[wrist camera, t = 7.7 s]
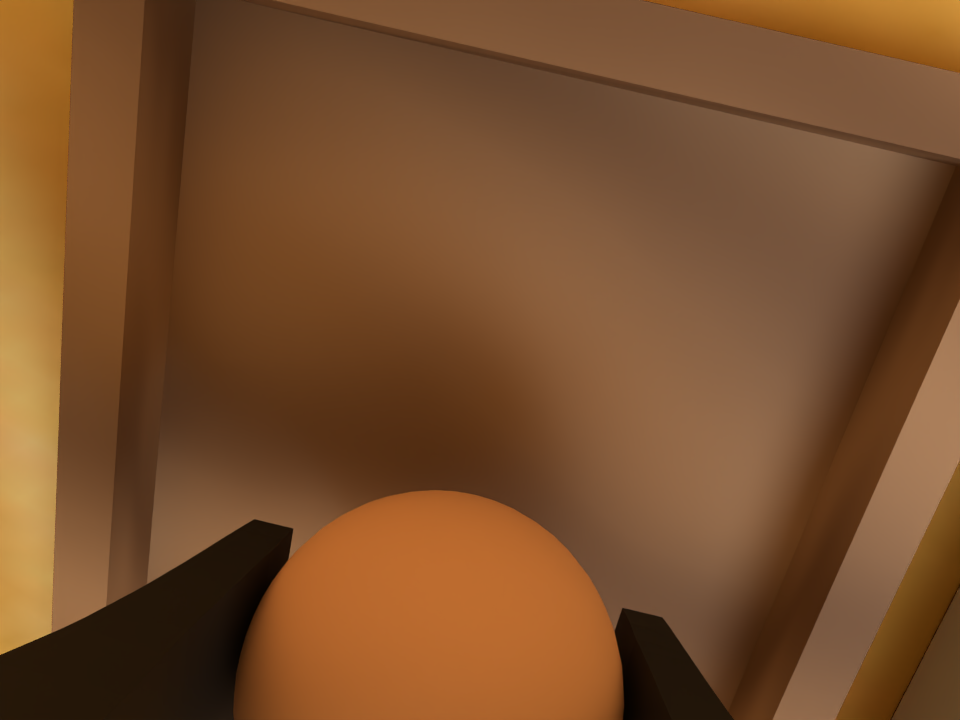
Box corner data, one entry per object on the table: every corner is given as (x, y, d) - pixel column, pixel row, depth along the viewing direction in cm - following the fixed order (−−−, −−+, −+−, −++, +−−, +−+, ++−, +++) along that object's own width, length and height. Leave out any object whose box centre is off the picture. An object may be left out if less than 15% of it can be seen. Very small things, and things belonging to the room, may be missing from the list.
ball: (563, 723, 13) (574, 1076, 8) (288, 656, 13) (136, 967, 8) (646, 475, 11) (718, 730, 6) (330, 399, 11) (172, 599, 7)
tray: (678, 905, 17) (696, 1008, 15) (101, 763, 17) (43, 846, 15) (1025, 114, 11) (1127, 111, 9) (158, -86, 12) (78, -130, 10)
